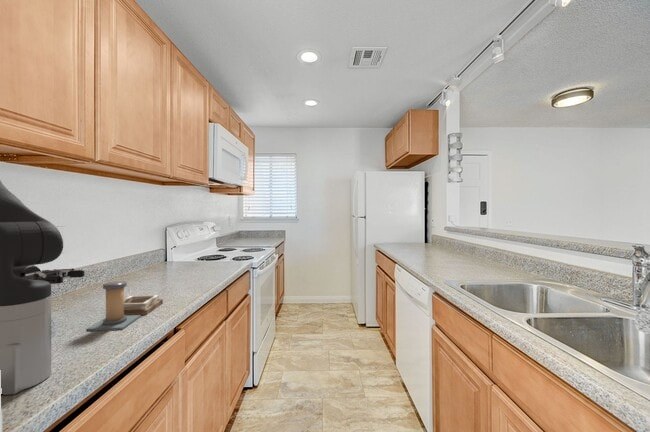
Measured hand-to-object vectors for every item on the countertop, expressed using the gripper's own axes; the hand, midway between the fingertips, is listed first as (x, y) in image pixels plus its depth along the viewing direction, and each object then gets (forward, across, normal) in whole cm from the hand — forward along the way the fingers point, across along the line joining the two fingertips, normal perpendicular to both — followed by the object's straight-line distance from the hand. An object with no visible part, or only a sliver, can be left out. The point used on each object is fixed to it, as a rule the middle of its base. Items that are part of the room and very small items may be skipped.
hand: (73, 276), depth 86 cm
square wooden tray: (+12, +13, +15) cm, 23 cm away
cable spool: (+11, 0, +15) cm, 19 cm away
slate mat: (+12, 0, +15) cm, 19 cm away
